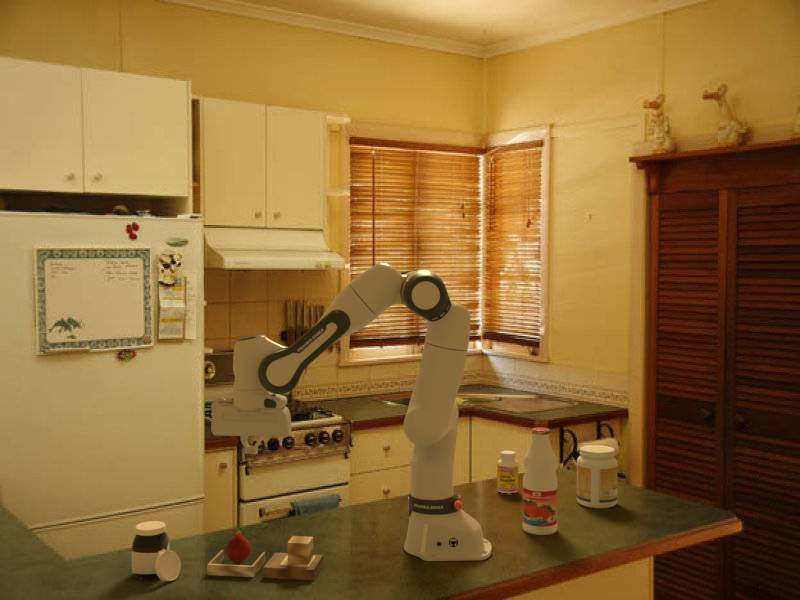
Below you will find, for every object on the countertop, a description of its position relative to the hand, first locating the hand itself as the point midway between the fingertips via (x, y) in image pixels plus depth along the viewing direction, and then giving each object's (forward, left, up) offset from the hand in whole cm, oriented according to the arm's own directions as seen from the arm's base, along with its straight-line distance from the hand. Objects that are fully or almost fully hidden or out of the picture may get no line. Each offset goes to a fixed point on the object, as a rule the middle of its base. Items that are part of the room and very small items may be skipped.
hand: (251, 453), depth 214 cm
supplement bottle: (-64, -64, -25) cm, 94 cm away
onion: (0, +10, -25) cm, 27 cm away
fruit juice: (-73, -27, -25) cm, 82 cm away
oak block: (-16, +12, -22) cm, 30 cm away
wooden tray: (-7, +12, -25) cm, 29 cm away
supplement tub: (-91, -55, -25) cm, 109 cm away
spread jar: (+17, +19, -25) cm, 36 cm away
